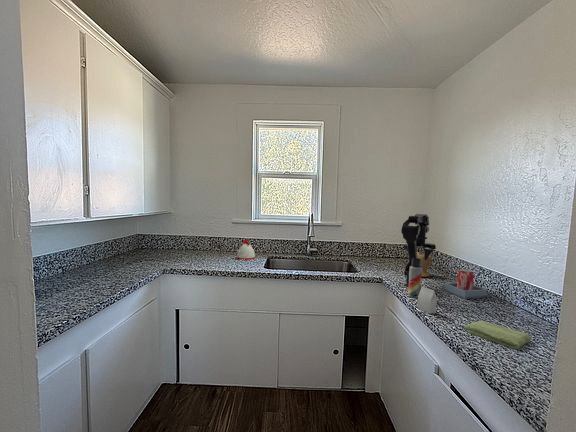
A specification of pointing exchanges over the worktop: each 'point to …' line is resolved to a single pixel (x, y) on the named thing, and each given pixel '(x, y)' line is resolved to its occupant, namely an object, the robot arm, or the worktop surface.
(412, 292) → the lotion bottle
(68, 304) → the worktop surface
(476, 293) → the bin
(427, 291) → the tea bag
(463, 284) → the soda can
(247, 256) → the white rounded cone
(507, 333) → the washcloth
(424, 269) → the stone cup
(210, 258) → the worktop surface
